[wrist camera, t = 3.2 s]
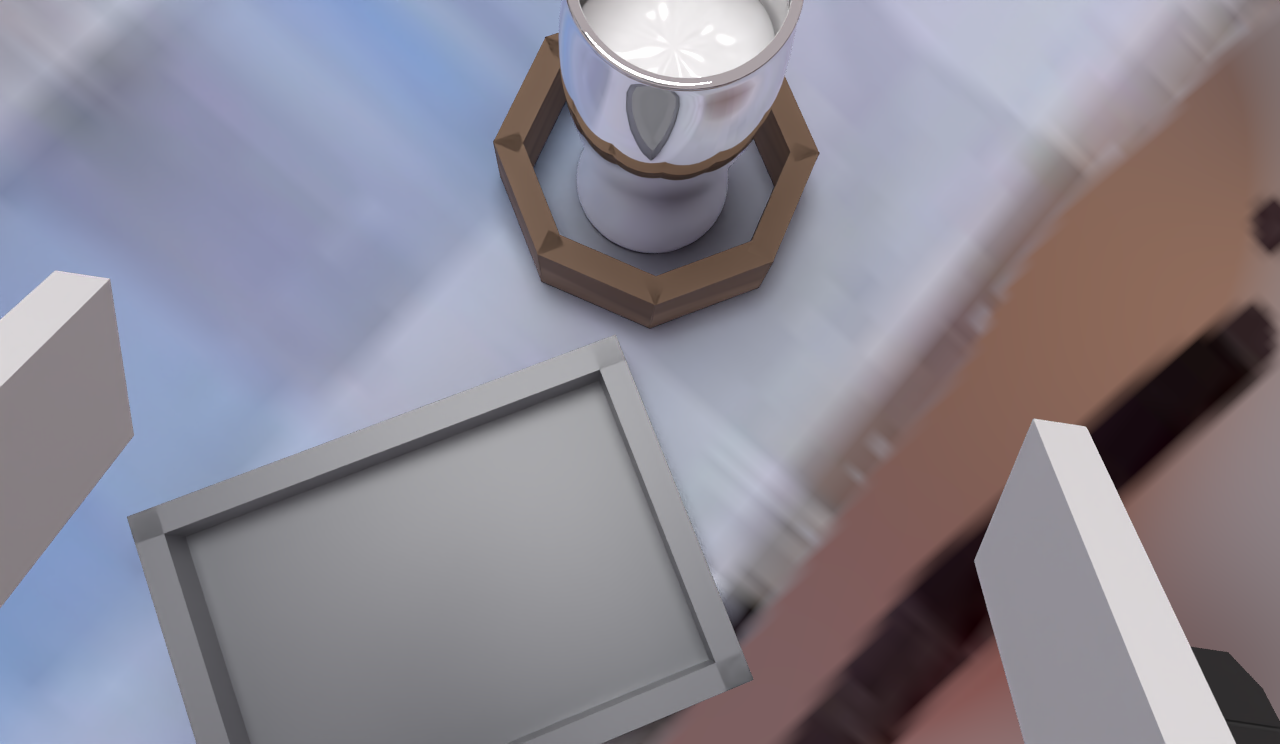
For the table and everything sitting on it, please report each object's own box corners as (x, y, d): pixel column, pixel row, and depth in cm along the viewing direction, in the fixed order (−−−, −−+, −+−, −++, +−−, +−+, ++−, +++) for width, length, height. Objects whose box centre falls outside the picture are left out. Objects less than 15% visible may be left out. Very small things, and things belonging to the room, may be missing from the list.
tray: (269, 871, 38) (242, 894, 35) (160, 522, 40) (126, 516, 37) (741, 673, 40) (753, 679, 37) (613, 352, 42) (615, 334, 39)
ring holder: (571, 358, 42) (569, 337, 39) (472, 105, 44) (462, 64, 41) (833, 259, 43) (854, 231, 40) (727, 18, 45) (738, -29, 42)
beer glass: (772, 195, 44) (866, -4, 29) (640, 299, 43) (667, 146, 28) (663, 70, 45) (700, -186, 30) (530, 169, 44) (501, -47, 29)
